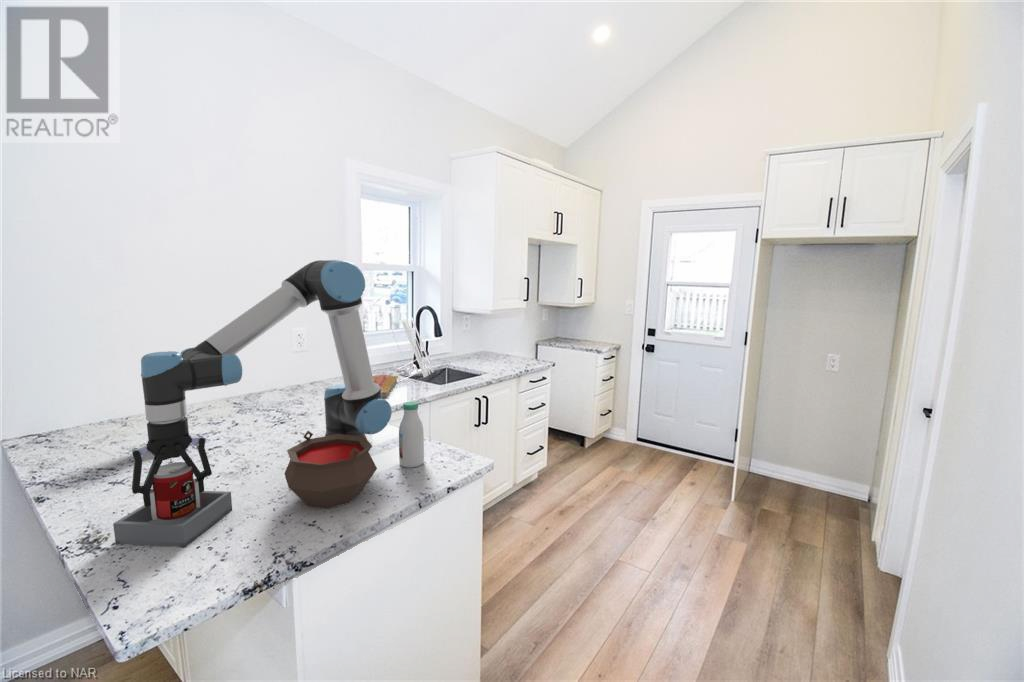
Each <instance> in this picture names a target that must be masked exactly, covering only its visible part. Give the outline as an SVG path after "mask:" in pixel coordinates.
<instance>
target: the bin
mask: <svg viewBox="0 0 1024 682" xmlns="http://www.w3.org/2000/svg"><path fill="white" fill-rule="evenodd" d="M199 497H200V507H199V508H196V506H195V509H194V511H193V512H191V513H190V514H188V515H186V516H184V517H181V518H178V519H173V520H162V519H159V518H158V517H157V519H156V520H153V519H152V515H151V506H147V507H145V505H144V504H143V505H142V506H140V507H139V508H136V509H135V510H134V511H131V512H130V513H129V514H126V515H125V516H123V517H122V518H120V519H119V520H117V521H115V522H114V523H113V524H112V525H113V532H114V533H113V534H114V540H115V545H118V544H129V545H128V546H143V545H157V546H156V547H167V546H177V547H176V548H186V547H188V546H189V545H190V544H191V543H192V541H193V540H194V539H195V540H196V539H197V537H198V536H199V537H200V536H202V535H203V534H204V533H206V532H207V530H209V529H210V528H211V527H213V526H214V525H215V524H217V523H218V522H219V521H221V520H222V519H223V518H224V517H226V516H227V515H228V514H229V513H231V512H232V511H233V502H232V501H233V500H232V492H231V491H221V490H219V491H218V490H204V492H201V493H199ZM230 511H231V512H230ZM202 533H203V534H202ZM199 537H198V538H199ZM195 540H194V541H195ZM194 541H193V542H194ZM190 542H191V543H190ZM189 543H190V544H189ZM130 544H131V545H130ZM188 544H189V545H188ZM158 545H159V546H158ZM187 545H188V546H187ZM178 546H180V547H178Z"/></svg>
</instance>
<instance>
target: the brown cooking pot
mask: <svg viewBox="0 0 1024 682" xmlns="http://www.w3.org/2000/svg"><path fill="white" fill-rule="evenodd" d="M308 435H309V436H308ZM313 435H314V433H313V432H311V431H310V430H307V431H306V433H305V434H304V435H303V438H304V439H305V440H304V441H302V442H300V443H298V444H296V445H293V447H291V448H289V449H287V450H286V451H287V454H288V458H289V462H288V464H287V466H286V468H285V471H284V477H285V481H286V484H287V487H288V489H290V490H291V491H292V492H293V493H294V494H295V496H297V497H298V498H299V499H300V500H301V501H302V502H303V503H304V504H305V505H306V506H307V507H311V506H312V508H318V509H319V508H320V509H325V508H326V509H327V508H328V509H332V508H335V506H336V507H339V506H338V505H340V506H343V505H342V504H344V505H347V504H346V503H348V504H350V503H351V502H352V501H353V500H354V499H356V498H357V497H358V496H359V495H360V494H361V493H362V491H363V490H364V488H365V487H366V485H367V484H368V482H369V481H370V479H371V478H372V476H374V474H375V472H376V471H377V470H378V467H377V466H376V464H375V462H374V459H373V458H372V455H371V454H370V450H371V449H372V447H373V445H372V444H371V442H370V441H369V440H368V438H367V439H366V438H365V437H362V436H352V435H342V434H336V435H330V436H325V435H324V436H320V437H319V436H318V437H313V438H312V436H313ZM357 495H358V496H357ZM356 496H357V497H356ZM350 501H351V502H350ZM349 502H350V503H349ZM331 507H332V508H331ZM328 509H327V510H328Z"/></svg>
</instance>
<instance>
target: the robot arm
mask: <svg viewBox="0 0 1024 682" xmlns="http://www.w3.org/2000/svg"><path fill="white" fill-rule="evenodd" d="M365 289H366V278H365V276H364V273H363V272H362V271H361V269H360V268H359V267H358V266H357V265H355V264H354V263H352V262H350V261H347V260H342V259H330V260H329V259H328V260H325V259H324V260H314V261H312V262H309V263H307V264H305V265H304V266H303V267H301V268H299V269H298V270H296V271H295V272H294V273H293V274H291V275H290V276H288V277H287V278H285V279H284V280H282V281H281V286H280V287H279V288H277V289H276V290H274V292H272V293H270V294H269V295H268V296H266V297H264V298H263V299H262V300H260V301H259V302H257V303H255V304H254V305H253V306H252V307H249V309H248V310H246V311H244V312H243V313H241V314H240V315H239V316H238V317H235V319H233V320H232V321H230V322H229V323H228V324H227V325H225V326H223V327H222V328H221V329H219V330H218V331H217V332H215V333H213V334H212V335H211V336H208V337H207V338H206V339H205V340H203V341H202V342H200V343H199V344H197V345H196V346H195V347H189V348H186V349H183V350H181V352H179V351H170V350H169V351H156V352H149V353H146V354H144V355H143V356H142V357H141V358H140V359H141V360H140V365H141V366H140V369H141V373H140V377H141V382H142V383H141V384H142V390H143V398H144V409H145V419H146V421H147V424H146V428H147V437H148V438H147V439H148V441H147V443H146V445H145V446H142V447H139V448H138V447H134V448H132V450H131V453H132V457H133V459H134V460H133V471H132V480H131V481H132V482H131V491H132V494H134V495H137V494H142V496H143V499H142V500H143V505H145V507H147V506H151V515H152V519H153V520H156V519H157V515H156V506H155V497H154V491H153V482H154V474H157V472H158V470H159V467H160V466H162V463H163V461H167V460H170V459H172V458H173V459H174V458H181V459H182V460H183V462H185V463H186V464H187V465H188V467H190V466H192V472H193V476H194V477H195V478H193V479H194V491H195V502H196V508H199V507H200V497H199V493H201V492H204V491H205V485H204V483H205V482H204V480H205V479H206V478H208V477H210V476H212V474H213V471H212V469H211V465H210V462H209V459H208V454H207V452H206V447H205V446H206V438H205V436H204V435H198V436H191V435H190V433H189V432H190V431H189V430H190V429H189V420H188V417H186V416H187V415H188V410H187V402H186V401H187V400H186V392H187V391H194V390H200V389H201V390H202V389H207V388H209V389H210V388H216V387H220V386H222V387H223V386H224V387H226V386H228V385H233V384H237V383H239V382H240V381H241V380H242V377H243V365H242V361H241V358H239V356H238V355H237V354H238V353H239V352H241V351H242V350H243V349H245V348H246V347H248V346H250V344H252V343H253V342H254V341H256V340H258V338H260V337H261V336H262V335H264V334H265V333H266V332H268V331H269V330H271V329H272V328H273V327H275V326H276V325H277V324H279V323H280V322H281V321H283V320H284V319H285V318H286V317H288V316H289V315H291V314H292V313H293V312H295V311H296V310H298V308H306V307H307V306H309V305H310V304H312V303H314V302H316V301H318V302H319V306H320V310H321V311H322V312H323V313H325V314H326V315H327V317H328V320H329V324H330V329H331V333H332V338H333V341H334V346H335V350H336V355H337V358H338V362H339V366H340V371H341V375H342V380H343V383H342V384H337V385H333V386H329V387H327V388H326V389H325V390H324V397H323V400H324V413H325V414H324V416H325V417H324V418H325V435H324V436H330V435H336V434H342V435H352V436H362V437H365V438H366V439H367V440H368V438H367V435H370V436H371V435H375V434H378V433H380V432H382V431H383V430H384V429H385V428H386V427H387V426H388V423H389V422H390V420H391V418H392V414H393V413H392V406H391V404H390V402H388V400H386V398H382V394H381V392H382V390H381V389H382V388H381V389H380V386H379V385H377V384H375V383H374V381H373V376H374V375H373V372H372V367H371V363H370V358H369V357H370V356H369V353H368V350H367V349H368V348H367V344H366V339H365V335H364V330H363V326H362V321H361V316H360V312H359V310H360V308H361V306H362V304H363V300H362V296H363V293H364V291H365ZM191 443H193V445H194V446H195V447H197V451H198V454H199V458H200V461H201V465H202V468H203V470H202V471H200V469H199V468H198V466H197V465H196V464H195V462H194V461H193V459H192V458H191V456H190V455H189V454H188V453H187V450H188V448H189V446H190V445H191ZM147 452H149V453H151V454H152V455H153V459H152V463H151V466H150V468H149V470H148V473H147V476H146V477H145V480H144V481H143V482H144V483H143V485H141V480H142V479H141V477H142V470H143V469H142V468H143V458H144V457H146V453H147Z"/></svg>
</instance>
